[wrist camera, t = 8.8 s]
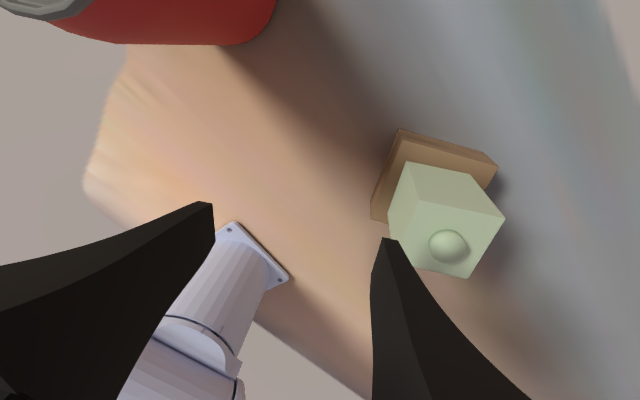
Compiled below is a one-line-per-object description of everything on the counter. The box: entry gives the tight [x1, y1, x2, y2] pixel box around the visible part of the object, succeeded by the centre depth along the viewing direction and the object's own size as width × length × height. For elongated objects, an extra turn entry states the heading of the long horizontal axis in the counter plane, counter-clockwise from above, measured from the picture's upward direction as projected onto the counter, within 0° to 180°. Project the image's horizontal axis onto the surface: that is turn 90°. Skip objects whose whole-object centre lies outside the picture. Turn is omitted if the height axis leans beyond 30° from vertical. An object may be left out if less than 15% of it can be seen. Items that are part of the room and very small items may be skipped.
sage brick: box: [387, 161, 506, 279], centre depth 16 cm, size 4×4×6 cm
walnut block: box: [370, 129, 499, 224], centre depth 19 cm, size 6×6×3 cm
